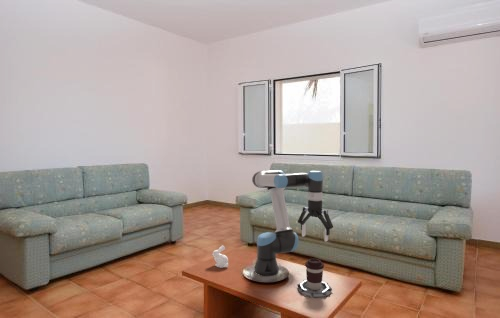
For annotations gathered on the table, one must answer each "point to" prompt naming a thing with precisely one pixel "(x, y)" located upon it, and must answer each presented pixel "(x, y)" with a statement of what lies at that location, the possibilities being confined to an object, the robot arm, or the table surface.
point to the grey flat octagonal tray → (319, 293)
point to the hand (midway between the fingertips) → (314, 238)
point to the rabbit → (220, 258)
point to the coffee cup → (314, 273)
